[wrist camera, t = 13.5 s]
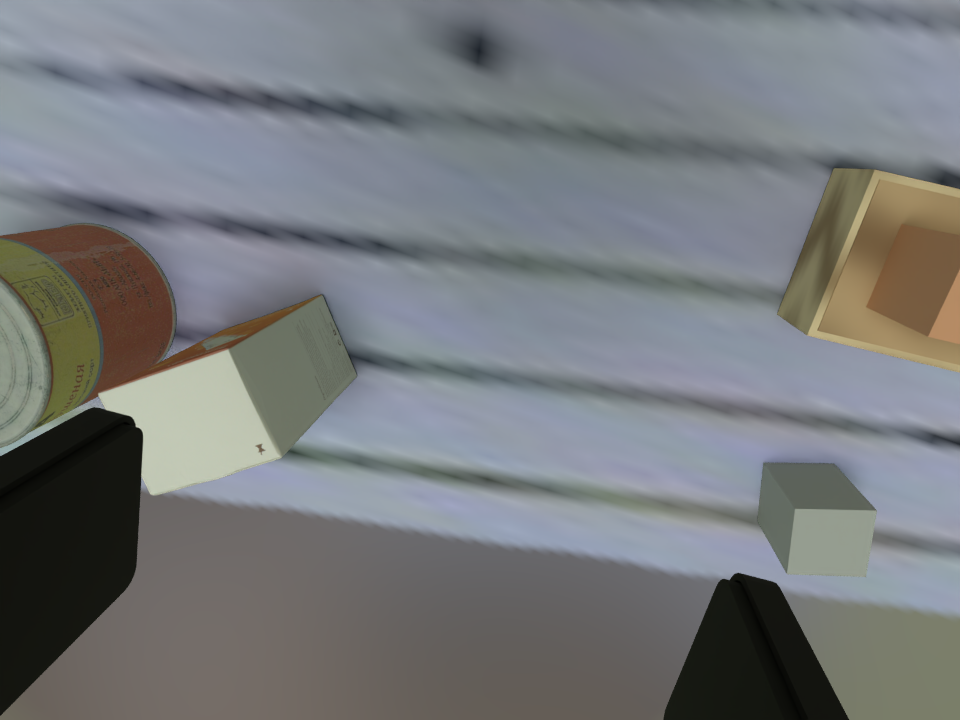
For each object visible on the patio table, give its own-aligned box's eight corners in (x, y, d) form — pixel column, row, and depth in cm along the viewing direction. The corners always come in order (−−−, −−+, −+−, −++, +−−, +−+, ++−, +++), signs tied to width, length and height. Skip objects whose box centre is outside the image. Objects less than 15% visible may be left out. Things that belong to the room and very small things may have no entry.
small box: (323, 291, 43) (229, 346, 30) (359, 376, 44) (284, 461, 32) (220, 328, 44) (92, 393, 32) (259, 408, 46) (151, 501, 34)
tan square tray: (833, 168, 37) (875, 169, 32) (988, 204, 37) (1054, 210, 32) (777, 314, 40) (807, 336, 35) (920, 348, 40) (971, 375, 35)
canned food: (34, 368, 47) (-132, 434, 36) (16, 213, 44) (-174, 232, 32) (179, 389, 46) (57, 465, 35) (173, 234, 43) (35, 261, 31)
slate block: (763, 462, 43) (795, 508, 37) (833, 463, 42) (876, 510, 37) (757, 520, 44) (786, 574, 39) (825, 522, 44) (865, 576, 38)
